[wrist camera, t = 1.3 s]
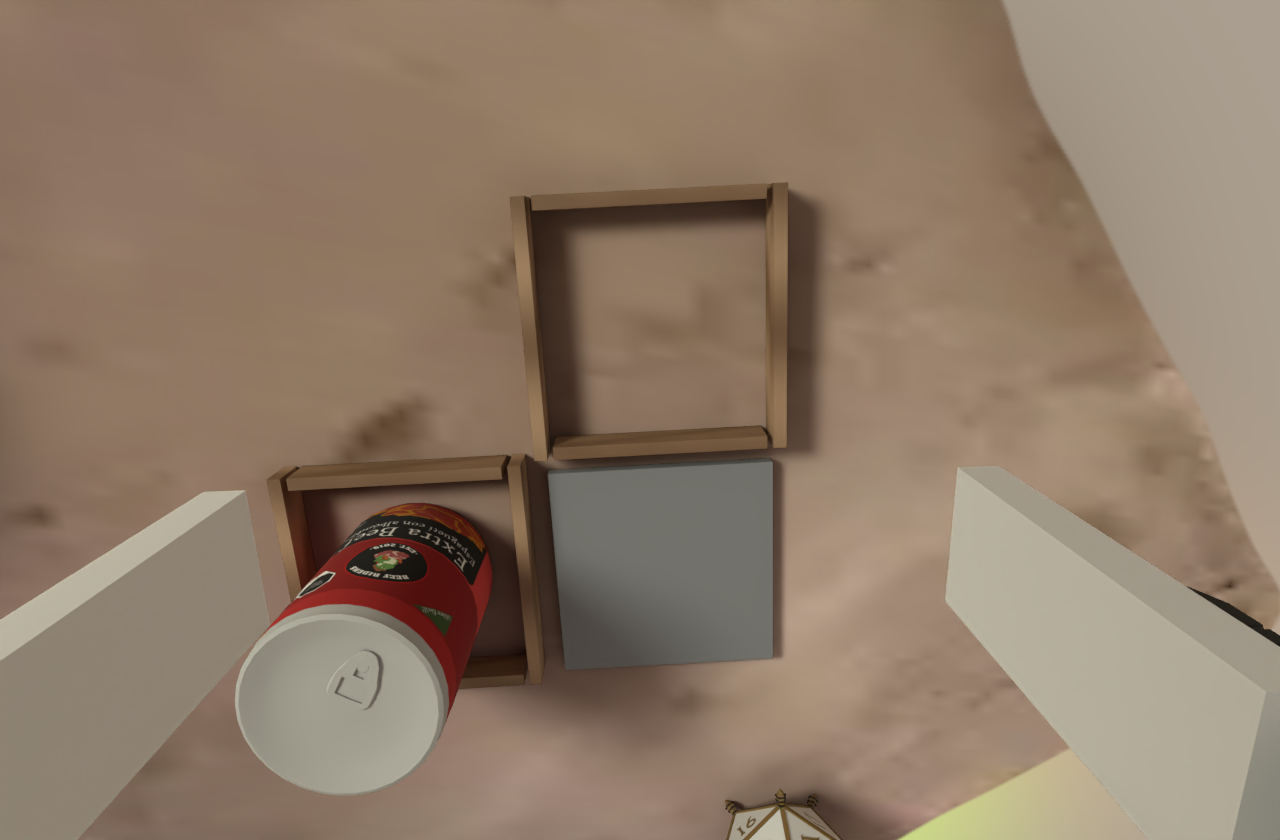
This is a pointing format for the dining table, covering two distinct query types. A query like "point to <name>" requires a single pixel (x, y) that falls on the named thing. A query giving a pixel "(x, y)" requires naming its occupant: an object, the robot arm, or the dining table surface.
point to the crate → (292, 481)
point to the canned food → (368, 654)
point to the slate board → (664, 562)
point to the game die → (779, 822)
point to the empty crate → (674, 438)
